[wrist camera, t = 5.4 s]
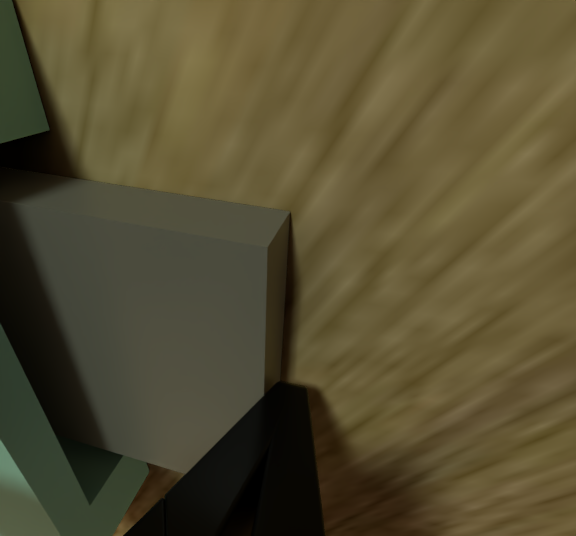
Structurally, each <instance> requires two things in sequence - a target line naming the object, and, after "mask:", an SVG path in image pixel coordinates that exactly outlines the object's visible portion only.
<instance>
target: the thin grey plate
mask: <svg viewBox="0 0 576 536" xmlns="http://www.w3.org/2000/svg"><path fill="white" fill-rule="evenodd" d="M289 224H290V211H283V210H277V209H270V208H264V207H258V206H251V205H245V204H238V203H232V202H225V201H219V200H212V199H206V198H199V197H193V196H186V195H180V194H173V193H167V192H160V191H154V190H147V189H141V188H134V187H128V186H122V185H115V184H109V183H102V182H96V181H89V180H83V179H76V178H70V177H63V176H57V175H50V174H44V173H37V172H31V171H24V170H18V169H11V168H5V167H0V324H1V326H2V328H3V330H4V332H5V334H6V336H7V338H8V340H9V342H10V344H11V346H12V348H13V350H14V352H15V354H16V356H17V358H18V360H19V362H20V364H21V367H22V369H23V371H24V373H25V375H26V377H27V379H28V381H29V383H30V385H31V387H32V389H33V391H34V393H35V395H36V397H37V399H38V401H39V403H40V405H41V407H42V409H43V411H44V413H45V415H46V417H47V419H48V422H49V424H50V426H51V428H52V430H53V432H54V434H55V435H58V436H62V437H65V438H68V439H72V440H75V441H78V442H81V443H85V444H88V445H91V446H95V447H98V448H101V449H104V450H108V451H111V452H114V453H118V454H121V455H124V456H127V457H131V458H134V459H137V460H140V461H144V462H147V463H150V464H154V465H157V466H160V467H163V468H167V469H170V470H173V471H177V472H180V473H183V474H186V473H187V472H188V471H189V470H190V469H191V468H192V467H193V466H194V465H195V464H196V463H197V462H198V461H199V460H200V459H201V458H202V457H203V456H204V455H205V454H206V453H207V452H208V451H209V450H210V449H211V448H212V447H213V446H214V445H215V444H216V443H217V442H218V441H219V440H220V439H221V438H222V437H223V436H224V435H225V434H226V433H227V432H228V431H229V430H230V429H231V428H232V427H233V426H234V425H235V424H236V423H237V422H238V421H239V420H240V419H241V418H242V417H243V416H244V415H245V414H246V413H247V412H248V411H249V410H250V409H251V408H252V407H253V406H254V405H255V404H256V403H257V402H258V401H259V400H260V399H261V398H262V397H263V396H264V395H265V394H266V392H267V391H268V390H269V389H270V388H271V387H272V386H273V385H274V384H275V383H277V382H278V381H280V377H281V360H282V343H283V326H284V309H285V292H286V275H287V258H288V241H289Z"/></svg>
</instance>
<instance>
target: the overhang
mask: <svg viewBox="0 0 576 536" xmlns="http://www.w3.org/2000/svg"><path fill="white" fill-rule="evenodd" d="M48 130H50V129H49V126H48V123H47V119H46V116H45V112H44V109H43V105H42V102H41V99H40V95H39V92H38V88H37V85H36V81H35V78H34V75H33V71H32V68H31V64H30V61H29V57H28V54H27V51H26V47H25V44H24V40H23V37H22V33H21V30H20V27H19V23H18V20H17V16H16V13H15V9H14V6H13V3H12V0H0V143H4V142H7V141H11V140H15V139H19V138H22V137H26V136H30V135H33V134H37V133H41V132H44V131H48ZM148 473H149V469H148V466H147V462H144V461H140V460H137V459H134V458H131V457H127V456H124V455H121V454H118V453H114V452H111V451H108V450H104V449H101V448H98V447H95V446H91V445H88V444H85V443H81V442H78V441H75V440H72V439H68V438H65V437H62V436H58V435H55V434H54V432H53V430H52V428H51V426H50V424H49V422H48V419H47V417H46V415H45V413H44V411H43V409H42V407H41V405H40V403H39V401H38V399H37V397H36V395H35V393H34V391H33V389H32V387H31V385H30V383H29V381H28V379H27V377H26V375H25V373H24V371H23V369H22V367H21V364H20V362H19V360H18V358H17V356H16V354H15V352H14V350H13V348H12V346H11V344H10V342H9V340H8V338H7V336H6V334H5V332H4V330H3V328H2V326H1V324H0V536H112V535H113V534H114V532H115V530H116V529H117V527H118V525H119V523H120V522H121V520H122V518H123V516H124V515H125V513H126V511H127V510H128V508H129V506H130V504H131V503H132V501H133V499H134V498H135V496H136V494H137V492H138V491H139V489H140V487H141V485H142V484H143V482H144V480H145V479H146V477H147V475H148Z"/></svg>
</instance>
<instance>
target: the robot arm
mask: <svg viewBox="0 0 576 536" xmlns="http://www.w3.org/2000/svg"><path fill="white" fill-rule="evenodd" d="M123 536H325V529H324V521H323V513H322V504H321V496H320V488H319V479H318V471H317V463H316V455H315V446H314V438H313V430H312V421H311V413H310V405H309V396H308V389H307V388H306V387H305V386H300V385H296V384H292V383H288V382H284V381H278V382H277V383H275V384H274V385H273V386H272V387H271V388H270V389H269V390H268V391H267V392H266V394H265V395H264V396H263V397H262V398H261V399H260V400H259V401H258V402H257V403H256V404H255V405H254V406H253V407H252V408H251V409H250V410H249V411H248V412H247V413H246V414H245V415H244V416H243V417H242V418H241V419H240V420H239V421H238V422H237V423H236V424H235V425H234V426H233V427H232V428H231V429H230V430H229V431H228V432H227V433H226V434H225V435H224V436H223V437H222V438H221V439H220V440H219V441H218V442H217V443H216V444H215V445H214V446H213V447H212V448H211V449H210V450H209V451H208V452H207V453H206V454H205V455H204V456H203V457H202V458H201V459H200V460H199V461H198V462H197V463H196V464H195V465H194V466H193V467H192V468H191V469H190V470H189V471H188V472H187V473H186V474H185V475H184V476H183V477H182V478H181V479H180V480H179V481H178V482H177V483H176V484H175V485H174V486H173V487H172V488H171V489H170V490H169V491H168V492H167V493H166V494H165V499H164V498H161V499H160V500H159V501H158V502H157V503H156V504H155V505H154V506H153V507H152V508H151V509H150V510H149V511H148V512H147V513H146V514H145V515H144V516H143V517H142V518H141V519H140V520H139V521H138V522H137V523H136V524H135V525H134V526H133V527H132V528H131V529H130V530H129V531H128V532H126V533H125V534H124V535H123Z"/></svg>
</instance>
